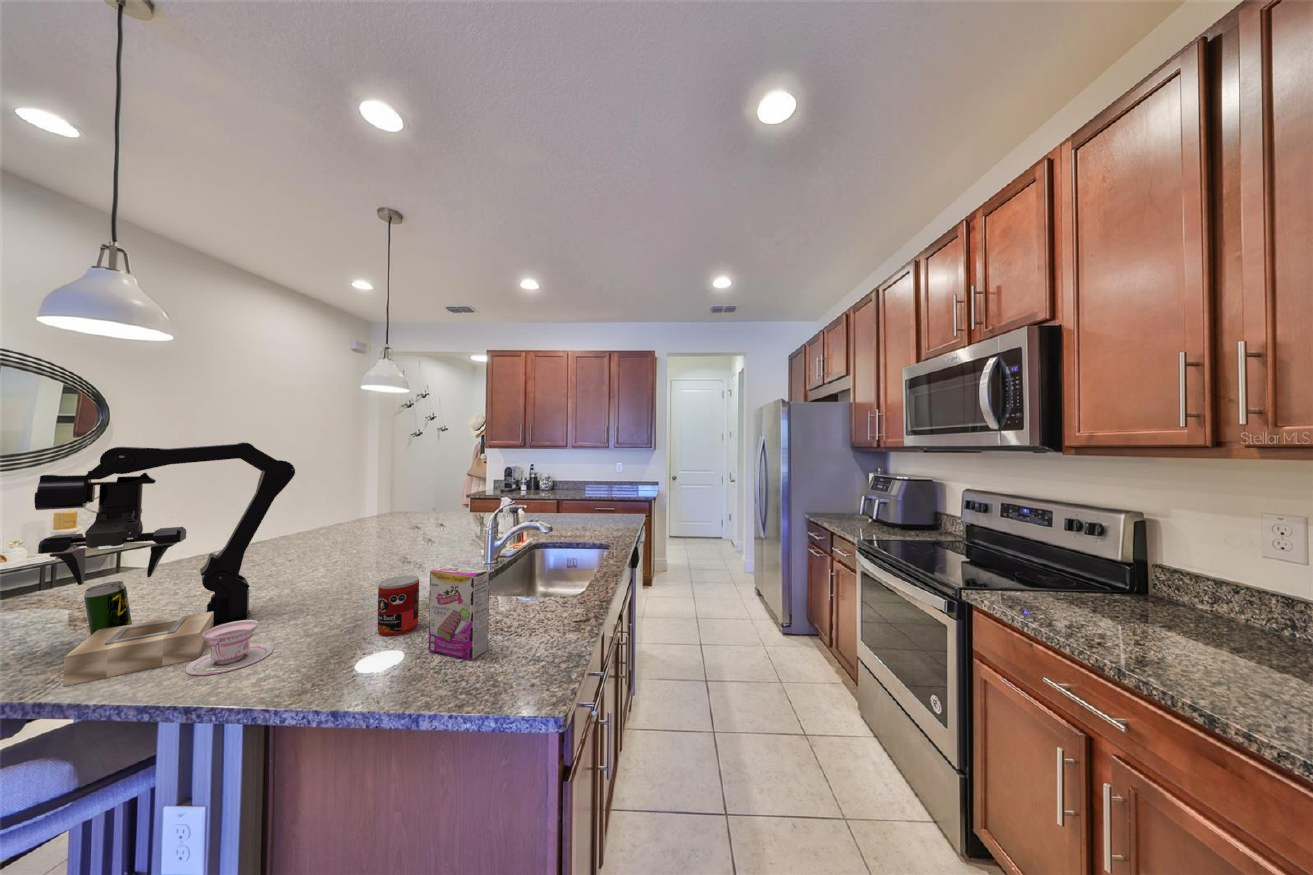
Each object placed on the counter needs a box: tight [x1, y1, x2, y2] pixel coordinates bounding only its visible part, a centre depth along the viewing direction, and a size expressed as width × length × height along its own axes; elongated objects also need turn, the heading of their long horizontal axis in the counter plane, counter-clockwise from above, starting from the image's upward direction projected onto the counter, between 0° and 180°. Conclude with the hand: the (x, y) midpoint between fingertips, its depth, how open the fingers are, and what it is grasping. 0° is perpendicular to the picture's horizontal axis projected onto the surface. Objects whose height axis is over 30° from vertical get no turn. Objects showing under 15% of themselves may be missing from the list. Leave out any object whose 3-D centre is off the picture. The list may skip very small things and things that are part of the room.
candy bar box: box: [428, 564, 490, 661], centre depth 87 cm, size 11×5×16 cm, turn 71°
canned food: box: [377, 575, 420, 637], centre depth 97 cm, size 8×8×11 cm
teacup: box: [185, 619, 274, 676], centre depth 83 cm, size 12×12×6 cm
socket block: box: [62, 611, 214, 687], centre depth 84 cm, size 16×14×5 cm
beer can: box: [83, 580, 133, 637], centre depth 89 cm, size 5×5×12 cm
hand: (116, 580), depth 90 cm, fingers open, 9 cm apart
